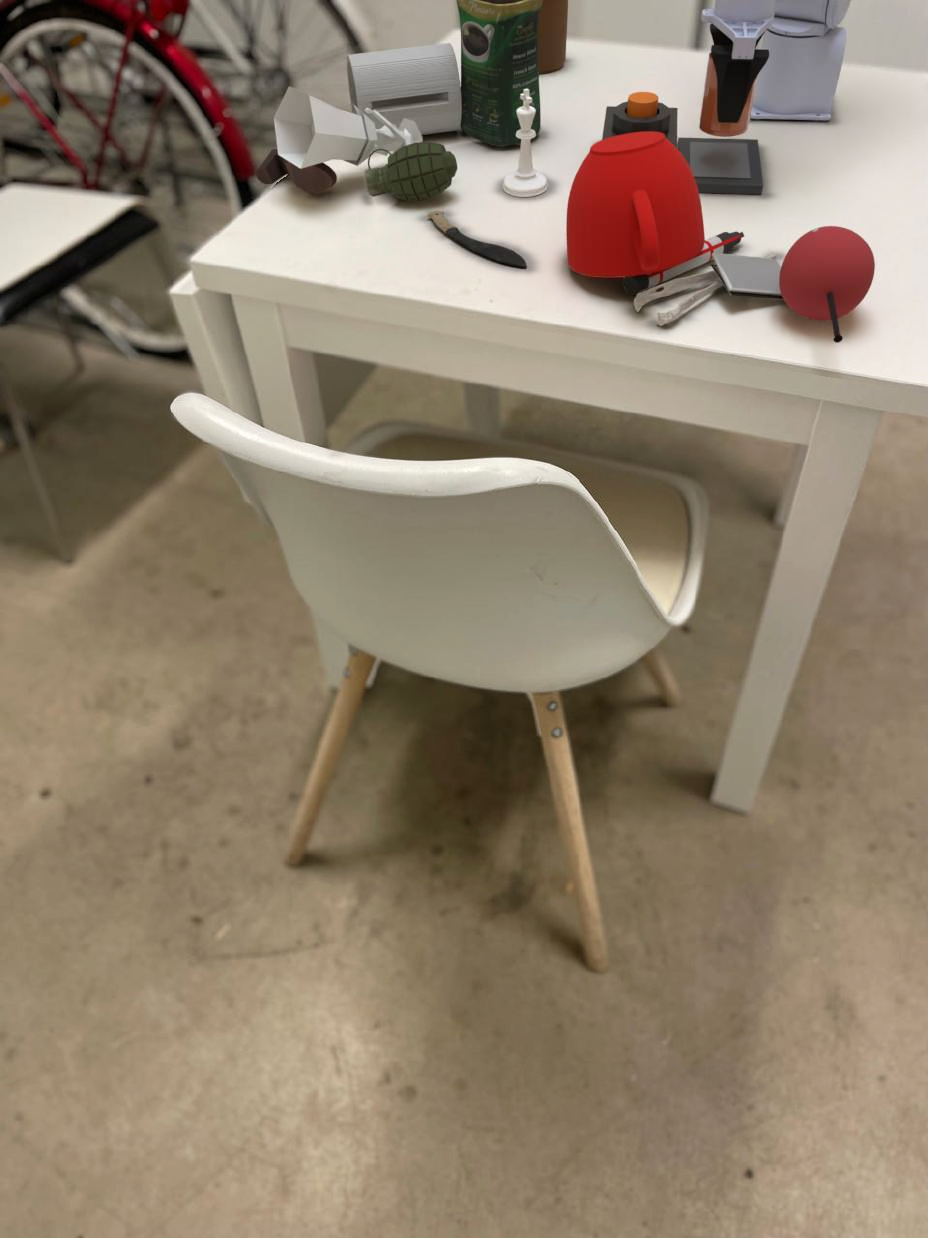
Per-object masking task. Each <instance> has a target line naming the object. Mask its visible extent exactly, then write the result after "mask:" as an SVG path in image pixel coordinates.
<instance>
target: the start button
mask: <svg viewBox="0 0 928 1238" xmlns="http://www.w3.org/2000/svg"><path fill="white" fill-rule="evenodd" d="M627 102H628V107H627V115H628V116H632V117H636V118H649V117H654V116H656V115H657V107H658V102H659V96H658V95H657V94H656V93H654V92H650V91H636V92H633V93H631V94H629V95H628V97H627Z"/></svg>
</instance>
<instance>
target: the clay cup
mask: <svg viewBox="0 0 928 1238" xmlns="http://www.w3.org/2000/svg"><path fill="white" fill-rule="evenodd" d="M707 58H708V60H707V65H706V72H705V79H704V86H703V93H702V100H701V108H700V114H699V123H698V128H699V130H700V131H701V132H703V133H705V134H707V135H710V136H713V137H714V136H715V137H720V138H722V137H723V138H729V137H730V138H731V137H737V136H741V135H743V134H745V133H746V132H747V131H748V129H749V125H750V122H751V118H750V116H751V111H752V105H753V100H754V94H755V89H756V83H757V78H758V76H757V77H756V79H755V81H754V83H753V85H752V88H751V90H750V93H749V95H748V98H747V101H746V104H745V107H744V109H743V112H742V115H741V117H740V119H739V121H738V123H721V122H718V116H717V75H716V70H715V66H714V63H713V60H712V56H711V52H709V53H708V57H707Z"/></svg>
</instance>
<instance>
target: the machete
mask: <svg viewBox="0 0 928 1238" xmlns="http://www.w3.org/2000/svg"><path fill="white" fill-rule="evenodd" d="M444 215H445V212H444V211H441V210H434V211H431V212H429V213H427V218H429V219H431V220H432V221H433V223H434V224H435V226H436V227H437V228H439V230H441V231H443V233H444V234H445V235H448V236H449V237H451V238H452V239H453V240H455V241H457V242H458V243H460V244H461V245H462V246H464V247H466V248H467V249H469V250H471V251H473V252H475V253H477V254H479V255H481V256H484V257H486V258H488V259H490V260H493V261H496V262H498V263H501V264H503V265H508V266H511V267H515V268H522V269H525V268H527V263H526V260H525V259H524V258H523V257H522V255H520V254H519V253H517V252H515V250H512V249H511V248H508V247H505V246H502V245H499V244H495V243H489V242H485V241H479V240H477V239H474V238H471V237H470V236H467V235H465V234H464V233H462V232H461V231H460V230H459V227H457V226H454V225H452V224H451V223H450V221H448V219H447V218H445V217H444Z"/></svg>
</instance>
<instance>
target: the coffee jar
mask: <svg viewBox="0 0 928 1238" xmlns="http://www.w3.org/2000/svg"><path fill="white" fill-rule="evenodd" d="M455 1H456V5H457V10H458V16H459V24H460V26H459V27H460V87H461V103H462V114H461V125H460V130H461V131H462V132H463V134H465V135H466V136H469V137H471V138H472V139H475V140H478V141H480V142H482V143H486V144H488V145H491V146H494V147H506V146H513V145H516V146H519V145H520V146H521V139H519V138H517V137H516V132H517V131H518V130H520V129H521V126H520V123H519V119H518V116H517V112H516V111H517V109H518V108H519V107H522V106H523V100H522V99H520V94H523V91H524V89H529V97H531V98H532V103H530V104H529V106H531V107H533V108H535V110H536V113H535V116H534V119H533V122H532V125H531V129H532V130H534V131H535V133H536V136H538V134H539V133H540V131H541V95H540V94H541V93H540V73H539V67H538V21H539V13H540V8H541V5H542V1H543V0H455ZM532 139H533V138H531V139H530V141H531V140H532Z"/></svg>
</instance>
